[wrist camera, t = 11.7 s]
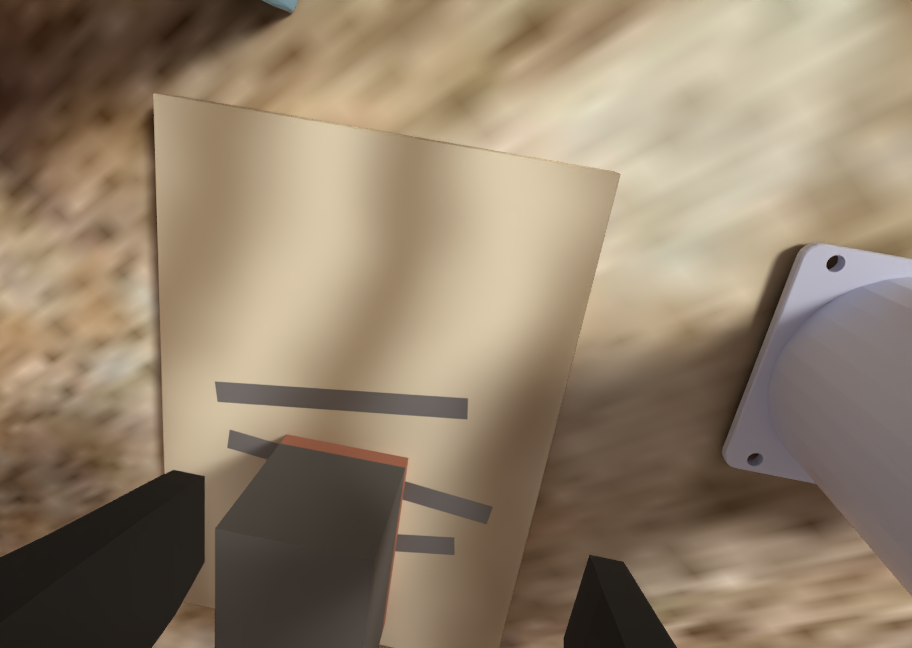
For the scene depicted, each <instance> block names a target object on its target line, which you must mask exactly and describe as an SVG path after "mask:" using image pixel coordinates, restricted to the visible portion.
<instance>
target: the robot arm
mask: <svg viewBox="0 0 912 648" xmlns="http://www.w3.org/2000/svg"><path fill="white" fill-rule="evenodd" d="M834 255H837V257H838V263H837V264H836V265H835V267H833V268H831V269H827V267H826V264H827V261H828V260H829V258H831V257H832V256H834ZM753 453H758V456H757V457H756V458H755V459H753V460H747V458H748V457H749V455H751V454H753ZM722 455H723V458H724V460H725V461H726V463H727V464H728V465H729V466H731V467H734V468H737V469H742V470H747V471H752V472H757V473H763V474H768V475H773V476H778V477H783V478H788V479H793V480H798V481H803V482H809V483H814V484H817V485H818V487H819V488H820V489H821V490H822V491H823V493H824V494H825V495H826V496H827V497H828V498H829V500H830V501H831V502H832V503H833V504H834V505H835V507H836V508H837V509H838V510H839V511H840V513H841V514H842V515H843V516H844V517H845V518H846V520H847V521H848V522H849V523H850V524H851V525H852V527H853V528H854V529H855V530H856V531H857V532H858V534H859V535H860V536H861V537H862V538H863V540H864V541H865V542H866V543H867V544H868V545H869V547H870V548H871V549H872V550H873V551H874V552H875V554H876V555H877V556H878V557H879V558H880V560H881V561H882V562H883V563H884V564H885V565H886V567H887V568H888V569H889V570H890V571H891V572H892V574H893V575H894V576H895V577H896V578H897V580H898V581H899V582H900V583H901V584H902V585H903V587H904V588H905V589H906V590H907V591H908V592H909V594H910V595H911V596H912V259H911V258H906V257H900V256H894V255H888V254H883V253H877V252H871V251H866V250H860V249H854V248H849V247H843V246H837V245H832V244H826V243H820V242H812V243H810V244H807V245H805V246H804V247H803V248H801V249H800V251H799V252H798V254H797V256H796V258H795V261H794V264H793V266H792V269H791V271H790V274H789V277H788V279H787V282H786V284H785V287H784V290H783V292H782V295H781V297H780V300H779V303H778V305H777V308H776V310H775V313H774V316H773V318H772V321H771V323H770V326H769V329H768V331H767V334H766V337H765V339H764V342H763V344H762V347H761V350H760V352H759V355H758V357H757V360H756V363H755V365H754V368H753V370H752V373H751V376H750V378H749V381H748V383H747V386H746V389H745V391H744V394H743V396H742V399H741V402H740V404H739V407H738V410H737V412H736V415H735V417H734V420H733V423H732V425H731V428H730V430H729V433H728V436H727V438H726V441H725V443H724V446H723V449H722ZM204 563H205V476H202V475H197V474H192V473H187V472H182V471H177V470H172V471H170V472H168V473H166V474H164V475H162V476H160V477H158V478H156V479H154V480H152V481H150V482H148V483H146V484H144V485H142V486H140V487H138V488H136V489H135V490H133V491H131V492H129V493H127V494H125V495H123V496H121V497H119V498H118V499H116V500H114V501H112V502H110V503H108V504H106V505H104V506H103V507H101V508H99V509H97V510H95V511H93V512H91V513H89V514H87V515H85V516H83V517H81V518H79V519H77V520H76V521H74V522H72V523H70V524H68V525H66V526H64V527H62V528H60V529H58V530H56V531H54V532H52V533H50V534H48V535H46V536H44V537H42V538H40V539H38V540H36V541H34V542H32V543H30V544H28V545H26V546H23V547H21V548H19V549H17V550H15V551H13V552H11V553H9V554H7V555H5V556H3V557H0V648H152V646H153V645H154V644H155V642H156V641H157V640H158V638H159V637H160V635H161V634H162V633H163V631H164V630H165V628H166V627H167V626H168V624H169V623H170V621H171V620H172V618H173V617H174V616H175V614H176V612H177V610H178V609H179V607H180V605H181V604H182V602H183V600H184V598H185V597H186V595H187V593H188V592H189V590H190V588H191V586H192V584H193V583H194V581H195V579H196V577H197V575H198V573H199V572H200V570H201V568H202V566H203V564H204ZM564 648H677V647H676V645H675V644H674V642H673V641H672V639H671V638H670V636H669V634H668V633H667V631H666V630H665V628H664V626H663V625H662V623H661V622H660V620H659V618H658V617H657V615H656V614H655V612H654V610H653V609H652V607H651V606H650V604H649V602H648V601H647V599H646V597H645V596H644V594H643V593H642V591H641V589H640V588H639V586H638V584H637V583H636V581H635V579H634V578H633V576H632V575H631V573H630V571H629V570H628V568H627V567H626V565H625V564H624V562H622V561H617V560H612V559H607V558H602V557H597V556H592V555H589V558H588V562H587V565H586V568H585V571H584V574H583V578H582V581H581V584H580V587H579V591H578V594H577V597H576V600H575V604H574V607H573V610H572V613H571V616H570V620H569V623H568V626H567V629H566V633H565V636H564Z"/></svg>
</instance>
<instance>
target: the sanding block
mask: <svg viewBox="0 0 912 648" xmlns="http://www.w3.org/2000/svg"><path fill="white" fill-rule="evenodd" d="M408 459H409V458H406V457H401V456H396V455H390V454H385V453H380V452H375V451H370V450H365V449H359V448H354V447H349V446H344V445H339V444H334V443H328V442H323V441H318V440H313V439H308V438H303V437H297V436H292V435H286V436H285V437H284V439H283V440H282V441H281V443H280V444H279V445H278V447H277V448H276V449H275V451H274V452H273V453H272V455H271V456H270V457H269V458H268V460H267V461H266V462H265V464H264V465H263V466H262V468H261V469H260V470H259V472H258V473H257V474H256V475H255V477H254V478H253V479H252V481H251V482H250V483H249V485H248V486H247V487H246V489H245V490H244V491H243V492H242V494H241V495H240V496H239V498H238V499H237V500H236V502H235V503H234V504H233V506H232V507H231V508H230V510H229V511H228V512H227V513H226V515H225V516H224V517H223V519H222V520H221V521H220V523H219V524H218V525H217V527H216V528H215V648H378V647H379V643H380V640H381V636H382V632H383V629H384V625H385V619H386V612H387V605H388V598H389V591H390V584H391V577H392V570H393V563H394V556H395V549H396V542H397V535H398V528H399V521H400V514H401V507H402V500H403V494H404V487H405V480H406V473H407V466H408Z"/></svg>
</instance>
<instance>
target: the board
mask: <svg viewBox="0 0 912 648" xmlns="http://www.w3.org/2000/svg"><path fill="white" fill-rule="evenodd" d="M153 101H154V135H155V169H156V203H157V237H158V271H159V305H160V339H161V373H162V407H163V441H164V474H166V473H168V472H170V471H172V470H177V471H182V472H187V473H192V474H197V475H202V476H205V563H204V564H203V566H202V568H201V570H200V572H199V573H198V575H197V577H196V579H195V581H194V583H193V584H192V586H191V588H190V590H189V592H188V593H187V595H186V597H185V598H184V600H183V602H185V603H190V604H194V605H199V606H203V607H208V608H213V609H215V528H216V527H217V525H218V524H219V523H220V521H221V520H222V519H223V517H224V516H225V515H226V513H227V512H228V511H229V510H230V508H231V507H232V506H233V504H234V503H235V502H236V500H237V499H238V498H239V496H240V495H241V494H242V492H243V491H244V490H245V489H246V487H247V486H248V485H249V483H250V482H251V481H252V479H253V478H254V477H255V475H256V474H257V473H258V472H259V470H260V469H261V468H262V466H263V465H264V464H265V462H266V461H267V460H268V458H269V457H270V456H271V455H272V453H273V452H274V451H275V449H276V448H277V447H278V445H279V444H280V443H281V441H282V440H283V439H284V437H285V436H286V435H292V436H297V437H303V438H308V439H313V440H318V441H323V442H328V443H334V444H339V445H344V446H349V447H354V448H359V449H365V450H370V451H375V452H380V453H385V454H390V455H396V456H401V457H406V458H409V459H408V466H407V473H406V480H405V487H404V494H403V500H402V507H401V514H400V521H399V528H398V535H397V542H396V549H395V556H394V563H393V570H392V577H391V584H390V591H389V598H388V605H387V612H386V619H385V625H384V629H383V632H382V636H381V640H380V643H379V645H383V646H388V647H393V648H499V646H500V642H501V639H502V635H503V631H504V627H505V623H506V619H507V615H508V611H509V607H510V603H511V600H512V596H513V592H514V588H515V584H516V580H517V576H518V572H519V568H520V564H521V561H522V557H523V553H524V549H525V545H526V541H527V537H528V533H529V529H530V525H531V522H532V518H533V514H534V510H535V506H536V502H537V498H538V494H539V490H540V486H541V482H542V479H543V475H544V471H545V467H546V463H547V459H548V455H549V451H550V447H551V443H552V440H553V436H554V432H555V428H556V424H557V420H558V416H559V412H560V408H561V404H562V401H563V397H564V393H565V389H566V385H567V381H568V377H569V373H570V369H571V365H572V362H573V358H574V354H575V350H576V346H577V342H578V338H579V334H580V330H581V326H582V323H583V319H584V315H585V311H586V307H587V303H588V299H589V295H590V291H591V287H592V283H593V280H594V276H595V272H596V268H597V264H598V260H599V256H600V252H601V248H602V244H603V241H604V237H605V233H606V229H607V225H608V221H609V217H610V213H611V209H612V205H613V202H614V198H615V194H616V190H617V186H618V182H619V178H620V174H619V173H616V172H614V171H608V170H603V169H597V168H591V167H585V166H580V165H574V164H568V163H562V162H556V161H551V160H545V159H539V158H533V157H527V156H522V155H516V154H510V153H504V152H499V151H493V150H487V149H481V148H475V147H470V146H464V145H458V144H452V143H446V142H441V141H435V140H429V139H423V138H417V137H412V136H406V135H400V134H394V133H389V132H383V131H377V130H371V129H365V128H360V127H354V126H348V125H342V124H336V123H331V122H325V121H319V120H313V119H308V118H302V117H296V116H290V115H284V114H279V113H273V112H267V111H261V110H255V109H250V108H244V107H238V106H232V105H227V104H221V103H215V102H209V101H203V100H198V99H192V98H186V97H180V96H173V95H164V94H154V93H153Z"/></svg>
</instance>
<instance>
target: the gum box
mask: <svg viewBox="0 0 912 648" xmlns="http://www.w3.org/2000/svg"><path fill="white" fill-rule="evenodd" d="M262 1H264V2H266V3H268V4H270V5H272V6H275V7H277V8H280V9H282V10H285V11H287V12H289V13H292V12H293V11H294V9H295V7H296V4H297V2H298V0H262Z"/></svg>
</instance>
